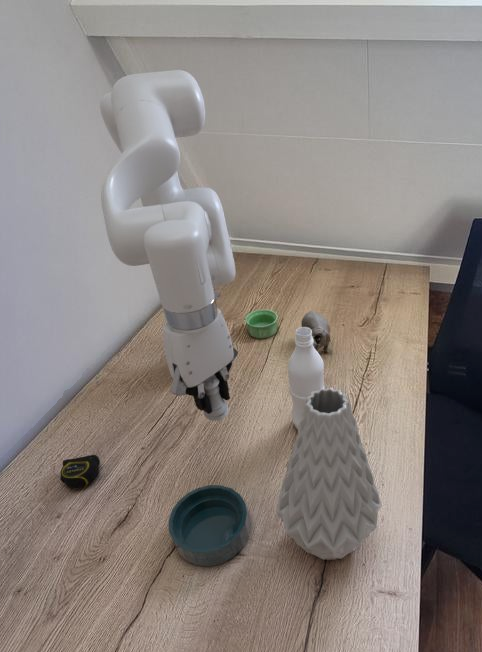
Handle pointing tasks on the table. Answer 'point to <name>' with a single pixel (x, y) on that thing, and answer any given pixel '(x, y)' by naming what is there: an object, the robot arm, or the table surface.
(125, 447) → the table surface
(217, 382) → the rook chess piece
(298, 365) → the water bottle
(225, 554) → the bowl
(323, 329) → the rhinoceros figurine
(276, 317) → the ramekin
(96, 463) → the tape measure
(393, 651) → the table surface
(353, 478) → the vase
